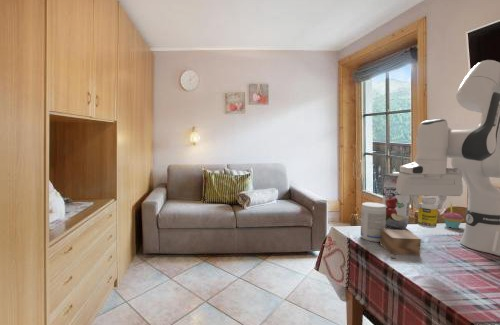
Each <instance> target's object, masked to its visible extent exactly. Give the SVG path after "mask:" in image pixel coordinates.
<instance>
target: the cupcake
mask: <svg viewBox="0 0 500 325" xmlns="http://www.w3.org/2000/svg"><path fill="white" fill-rule="evenodd" d="M442 219H443V221H444V223H445V226H446V227H447V228H449V227H451V228H450V229H459V227H460V225H461V224H462V223H463V222H464V223H465V218H464V216H462V215H461V214H460V213H456V212H453V204H452V203H450V211H449V212H446V213H443V214H442Z"/></svg>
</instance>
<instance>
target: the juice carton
mask: <svg viewBox="0 0 500 325" xmlns="http://www.w3.org/2000/svg"><path fill="white" fill-rule="evenodd" d="M400 173H401V172H400V171H394V172H392V173H387V174H384V176H383V178H384V179H383V187H382V188H383V191H382V204H384V205H385V206H386V226H385V228H389V229H391V230H406V228H407V227H408V225H409V220H410V205H411V204H410V203H411V202H410V201H411V196H410V195H400V194H398V193H397V191H396V185H397V178H398V176H399V174H400Z"/></svg>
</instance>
